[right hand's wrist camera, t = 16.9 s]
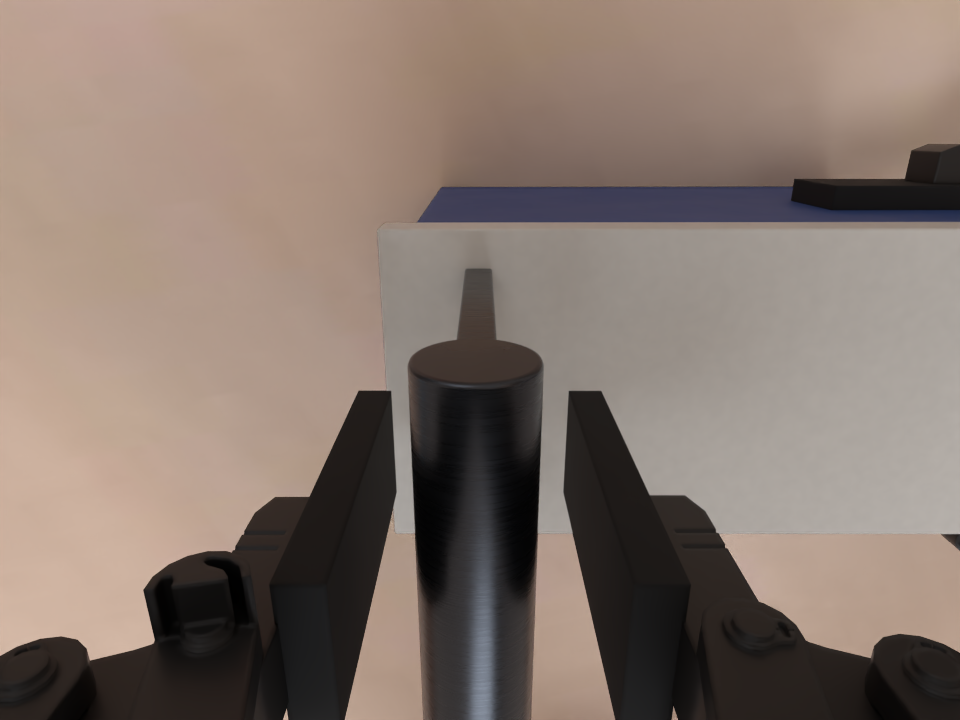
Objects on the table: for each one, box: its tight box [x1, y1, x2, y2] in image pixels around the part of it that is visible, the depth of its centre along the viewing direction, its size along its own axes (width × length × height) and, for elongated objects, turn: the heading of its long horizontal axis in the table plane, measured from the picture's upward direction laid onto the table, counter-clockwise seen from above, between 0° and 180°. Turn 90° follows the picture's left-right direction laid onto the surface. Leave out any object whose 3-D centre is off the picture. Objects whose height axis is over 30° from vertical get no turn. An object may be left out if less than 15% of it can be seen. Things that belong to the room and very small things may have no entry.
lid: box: [377, 222, 960, 720], centre depth 14 cm, size 18×9×9 cm, turn 90°
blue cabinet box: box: [417, 187, 960, 223], centre depth 24 cm, size 17×9×11 cm, turn 90°
